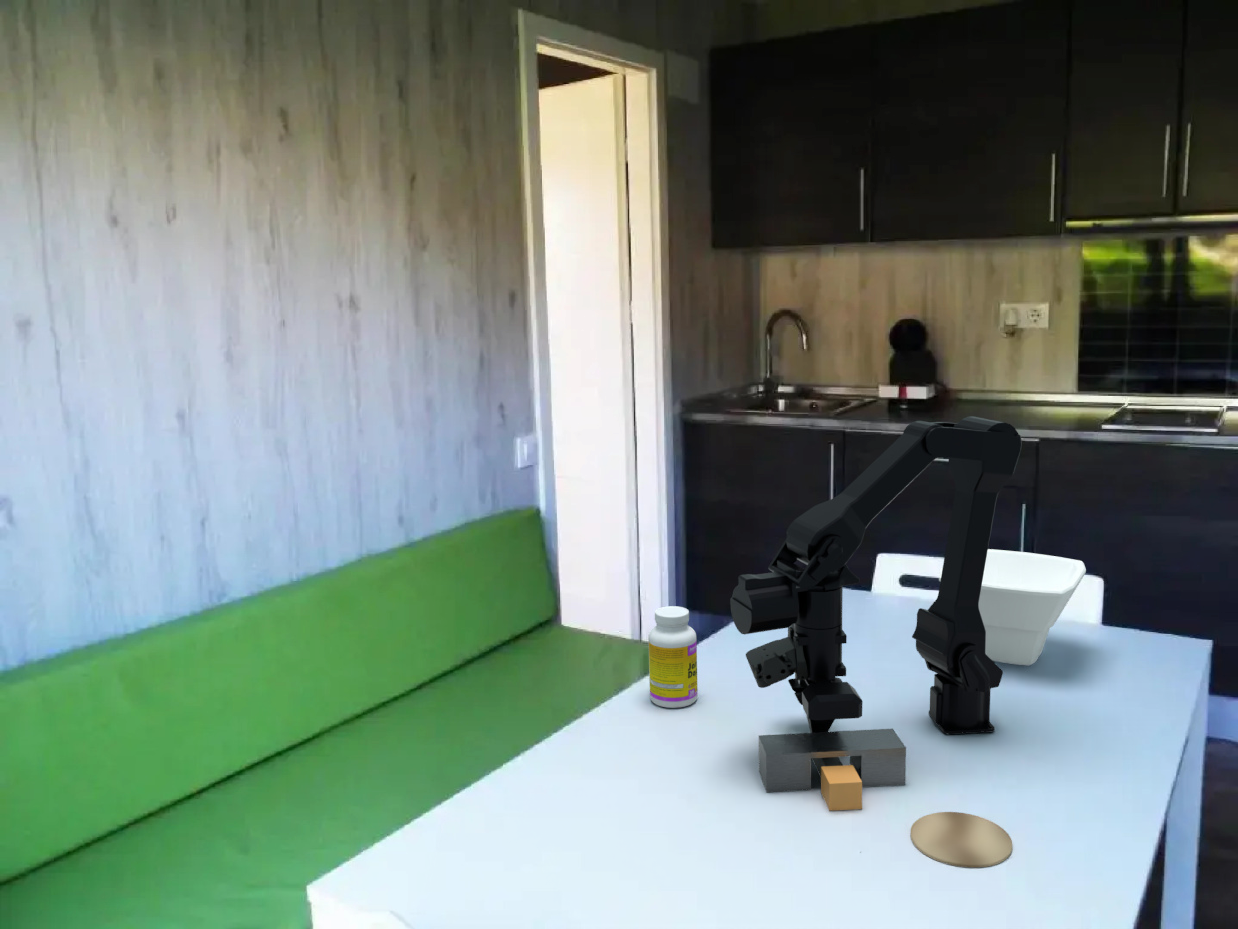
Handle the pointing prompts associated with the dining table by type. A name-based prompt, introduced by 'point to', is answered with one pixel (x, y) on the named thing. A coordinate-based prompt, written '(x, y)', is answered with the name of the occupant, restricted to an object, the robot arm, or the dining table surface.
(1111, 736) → the dining table surface
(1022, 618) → the bowl
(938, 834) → the coaster
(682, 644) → the supplement bottle
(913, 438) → the robot arm
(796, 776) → the grey notched block
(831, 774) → the tan block with bar
